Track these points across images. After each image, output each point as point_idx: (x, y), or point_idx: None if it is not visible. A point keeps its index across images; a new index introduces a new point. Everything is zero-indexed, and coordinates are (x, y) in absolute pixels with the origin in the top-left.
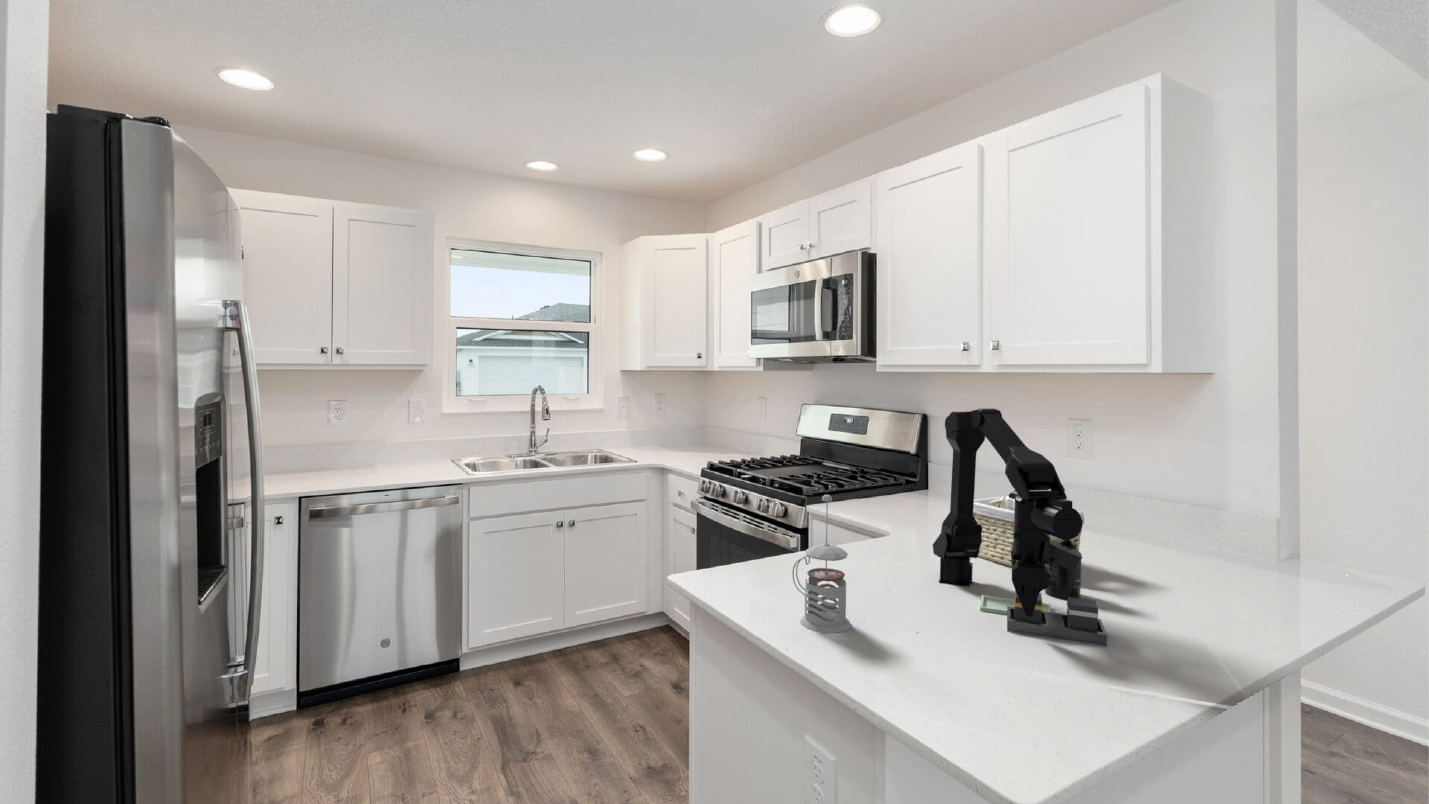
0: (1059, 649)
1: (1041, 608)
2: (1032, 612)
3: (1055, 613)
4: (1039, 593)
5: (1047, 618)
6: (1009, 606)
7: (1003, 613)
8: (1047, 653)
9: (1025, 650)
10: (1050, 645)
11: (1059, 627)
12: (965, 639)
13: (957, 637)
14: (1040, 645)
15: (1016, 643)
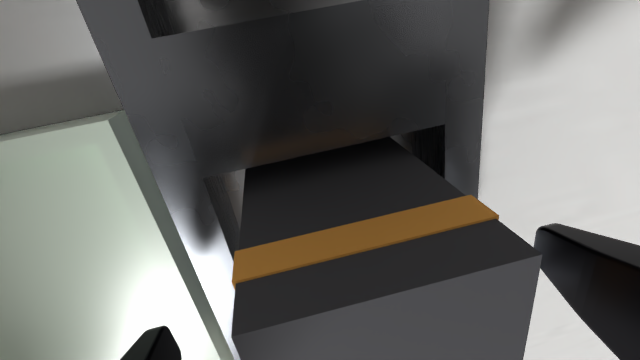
0: (543, 11)
1: (480, 209)
2: (600, 239)
3: (140, 101)
4: (256, 346)
5: (317, 137)
6: (64, 353)
7: (219, 338)
8: (607, 63)
9: (592, 154)
10: (502, 64)
11: (477, 25)
12: (543, 330)
13: (534, 349)
14: (518, 109)
15: (528, 200)
